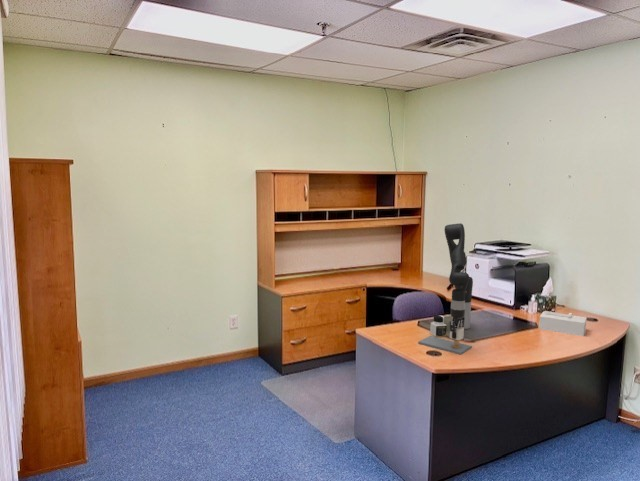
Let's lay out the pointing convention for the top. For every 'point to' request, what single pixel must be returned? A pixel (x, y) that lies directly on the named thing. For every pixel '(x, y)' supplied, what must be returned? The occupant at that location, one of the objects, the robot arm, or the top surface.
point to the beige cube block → (458, 333)
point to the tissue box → (562, 323)
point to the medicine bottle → (438, 326)
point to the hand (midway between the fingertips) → (456, 337)
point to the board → (445, 344)
